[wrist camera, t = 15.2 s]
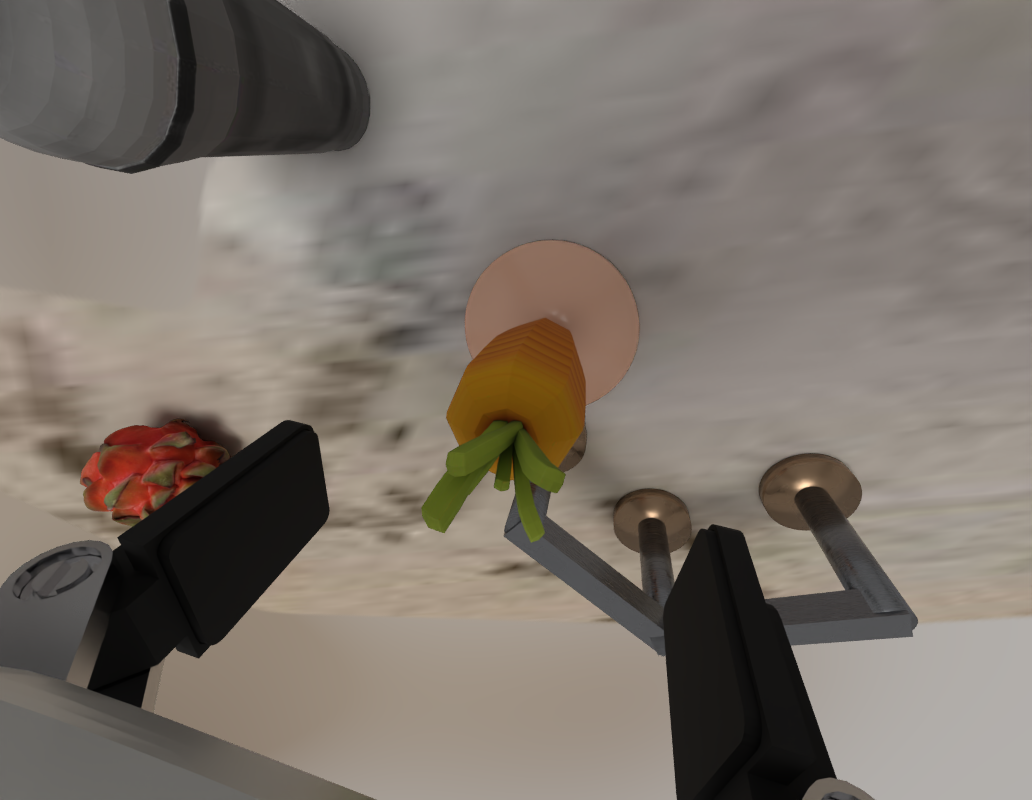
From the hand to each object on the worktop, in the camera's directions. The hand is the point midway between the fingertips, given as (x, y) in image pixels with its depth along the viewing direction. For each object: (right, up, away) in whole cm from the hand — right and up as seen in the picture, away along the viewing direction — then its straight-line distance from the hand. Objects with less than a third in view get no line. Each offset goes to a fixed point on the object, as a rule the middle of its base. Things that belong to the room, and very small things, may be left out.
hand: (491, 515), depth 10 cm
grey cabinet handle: (+10, -3, +17) cm, 21 cm away
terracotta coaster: (+3, +7, +14) cm, 16 cm away
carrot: (+3, +7, +14) cm, 15 cm away
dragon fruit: (-26, -1, +25) cm, 37 cm away
